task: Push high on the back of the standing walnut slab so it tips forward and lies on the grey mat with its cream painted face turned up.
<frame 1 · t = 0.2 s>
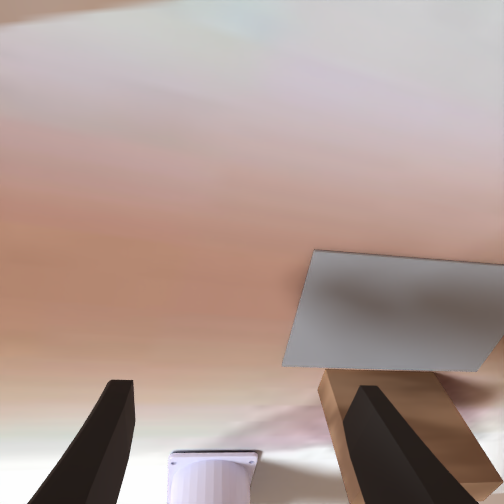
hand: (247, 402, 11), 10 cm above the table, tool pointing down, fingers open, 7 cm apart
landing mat: (407, 319, 23), on the table
walnut slab: (375, 380, 27), on the table
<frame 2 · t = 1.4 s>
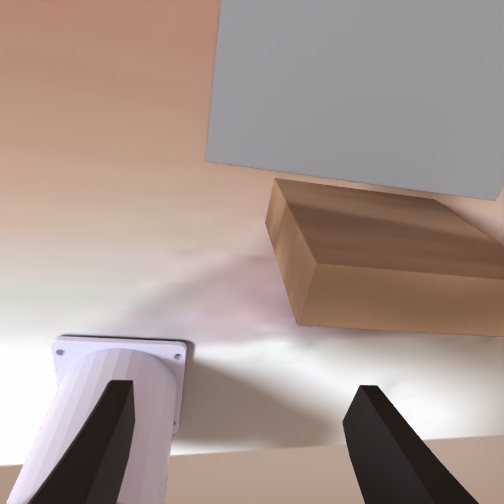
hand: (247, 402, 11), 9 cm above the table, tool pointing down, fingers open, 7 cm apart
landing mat: (396, 73, 15), on the table
walnut slab: (349, 210, 18), on the table
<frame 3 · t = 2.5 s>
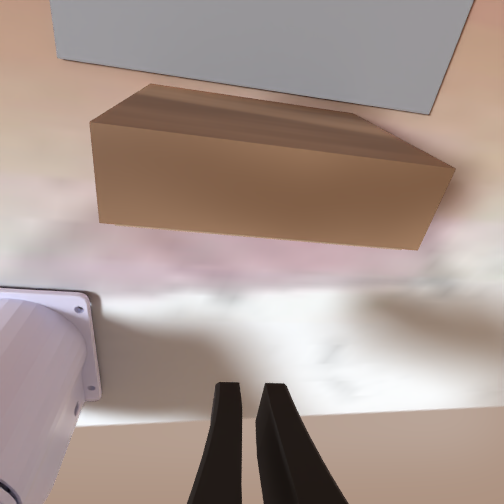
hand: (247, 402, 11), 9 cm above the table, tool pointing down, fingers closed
walnut slab: (252, 128, 16), on the table
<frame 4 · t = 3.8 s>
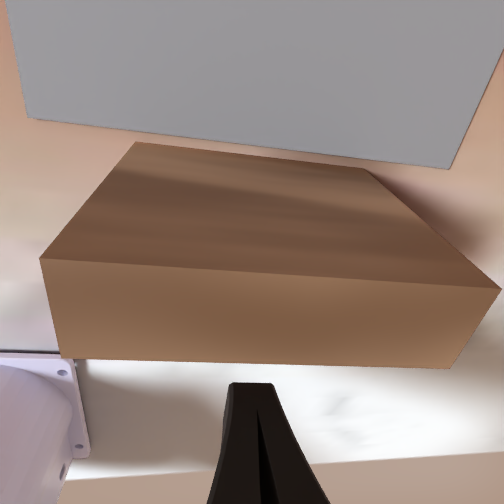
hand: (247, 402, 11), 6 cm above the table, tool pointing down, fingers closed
walnut slab: (250, 185, 14), on the table
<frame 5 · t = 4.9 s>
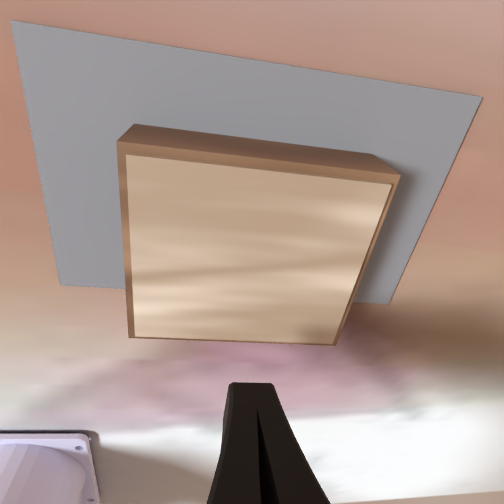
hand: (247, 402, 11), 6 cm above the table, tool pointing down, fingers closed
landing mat: (249, 198, 14), on the table
walnut slab: (235, 321, 16), point 1 cm above the table, tilted 90°, touching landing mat
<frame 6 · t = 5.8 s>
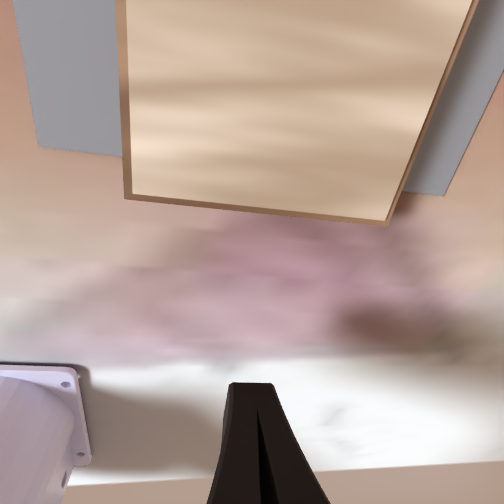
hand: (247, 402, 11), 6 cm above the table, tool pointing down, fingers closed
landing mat: (283, 21, 11), on the table
walnut slab: (259, 198, 12), point 1 cm above the table, tilted 90°, touching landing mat
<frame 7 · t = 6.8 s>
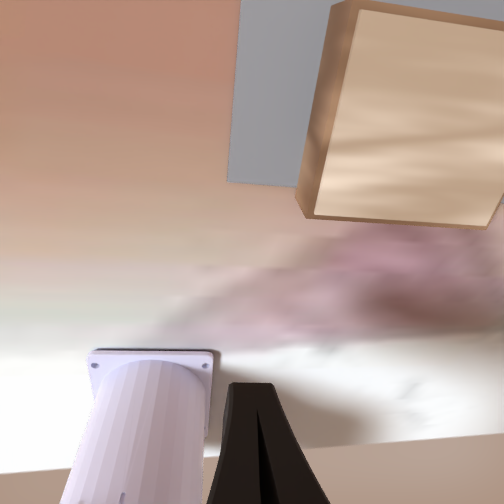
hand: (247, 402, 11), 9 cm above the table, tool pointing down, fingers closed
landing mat: (412, 87, 15), on the table
walnut slab: (387, 213, 17), point 1 cm above the table, tilted 90°, touching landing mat
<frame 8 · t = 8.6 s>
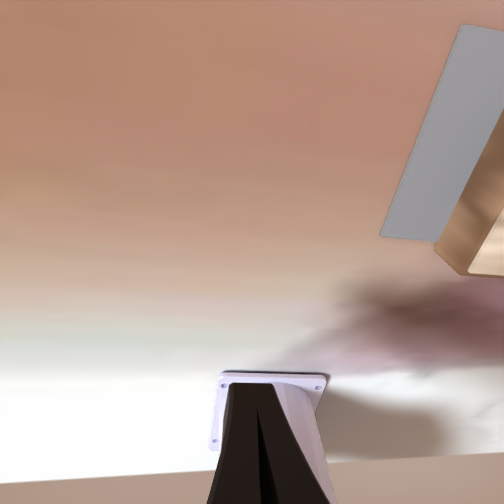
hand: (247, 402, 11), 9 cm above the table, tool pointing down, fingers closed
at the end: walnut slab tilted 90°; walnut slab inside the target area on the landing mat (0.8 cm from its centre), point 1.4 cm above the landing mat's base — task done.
